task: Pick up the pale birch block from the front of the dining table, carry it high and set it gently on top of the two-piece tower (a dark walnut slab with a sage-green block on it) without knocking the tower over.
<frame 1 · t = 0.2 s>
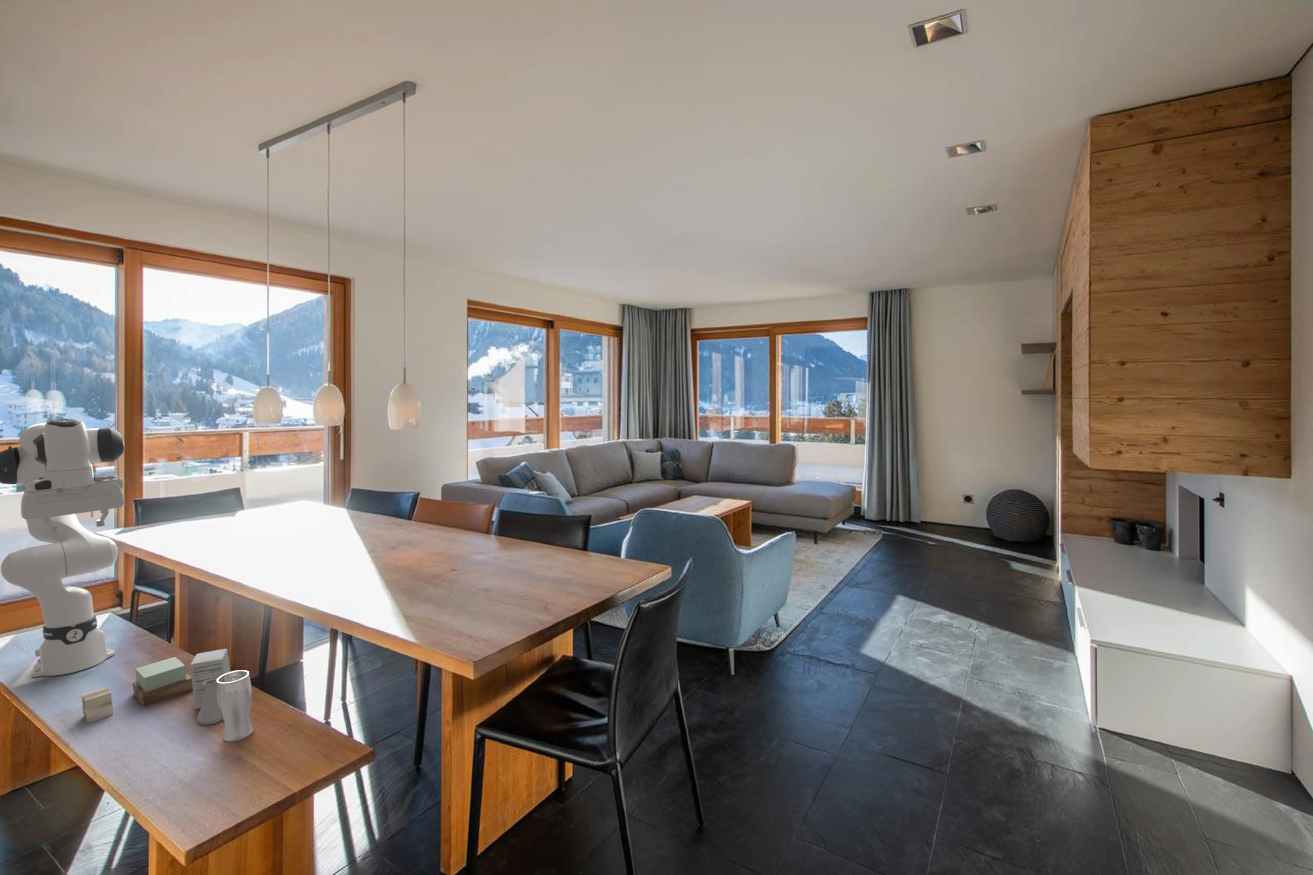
hand: (77, 529, 166), 47 cm above the bench, fingers open, 8 cm apart
beer glass: (238, 735, 150), on the bench
supplement box: (213, 700, 167), on the bench
tower top block: (161, 680, 172), point 3 cm above the bench, touching tower base slab
flask: (214, 718, 158), on the bench
birch block: (98, 715, 161), on the bench
tower base slab: (164, 693, 172), on the bench, touching tower top block
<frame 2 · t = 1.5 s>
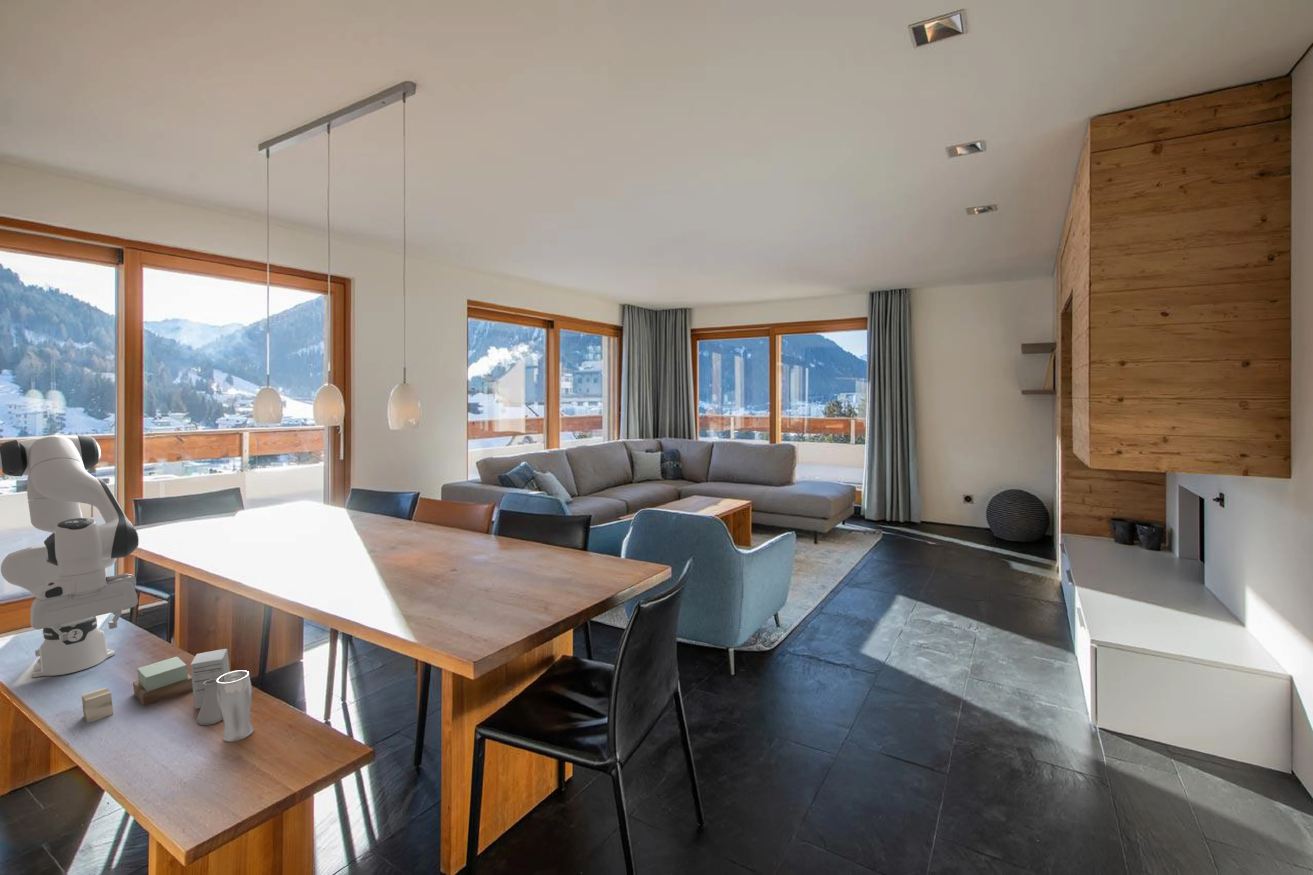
hand: (89, 634, 158), 22 cm above the bench, fingers open, 8 cm apart
nothing on the bench moved.
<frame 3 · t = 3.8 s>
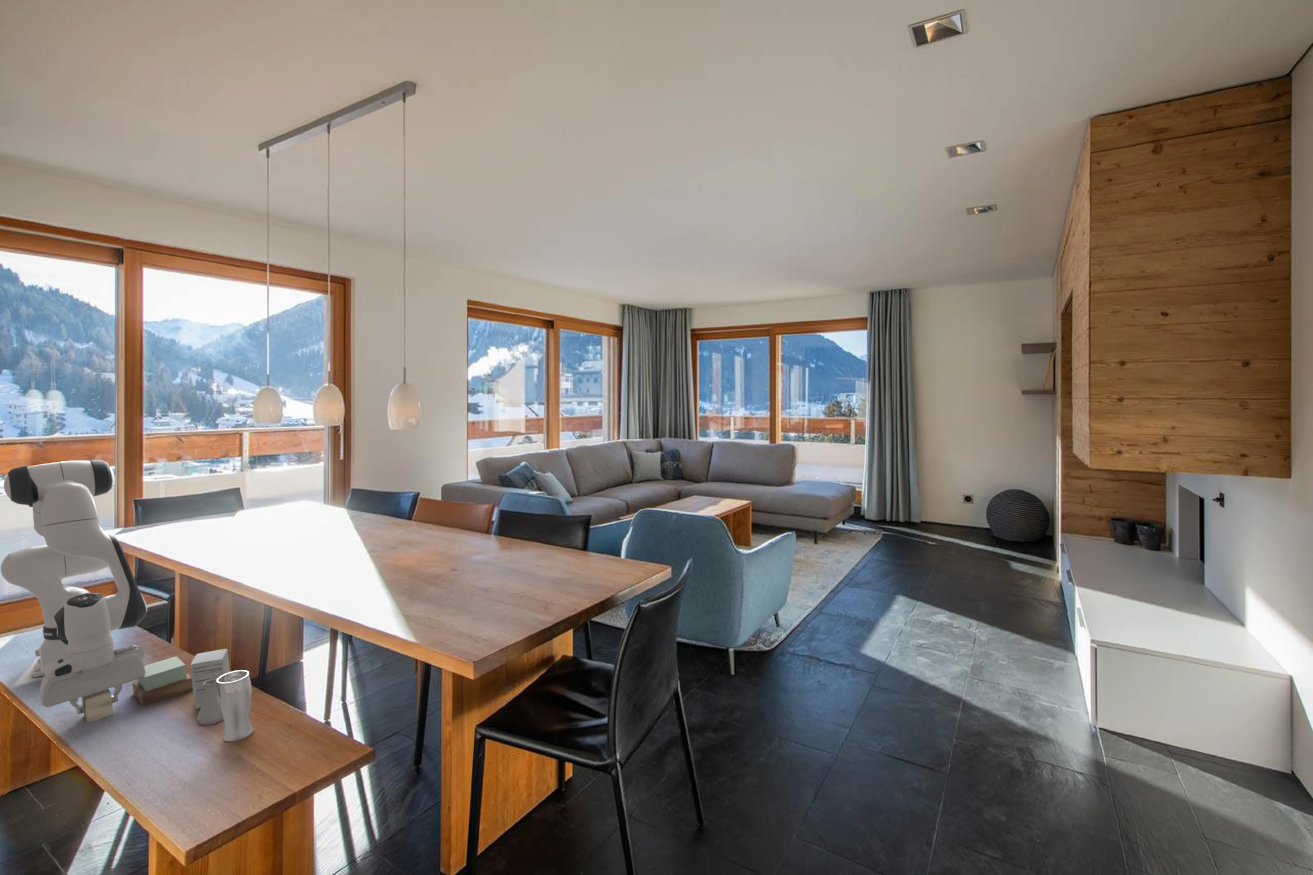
hand: (97, 707, 160), 2 cm above the bench, fingers closed on birch block, 5 cm apart
birch block: (98, 715, 161), on the bench, touching gripper
everything else where it was.
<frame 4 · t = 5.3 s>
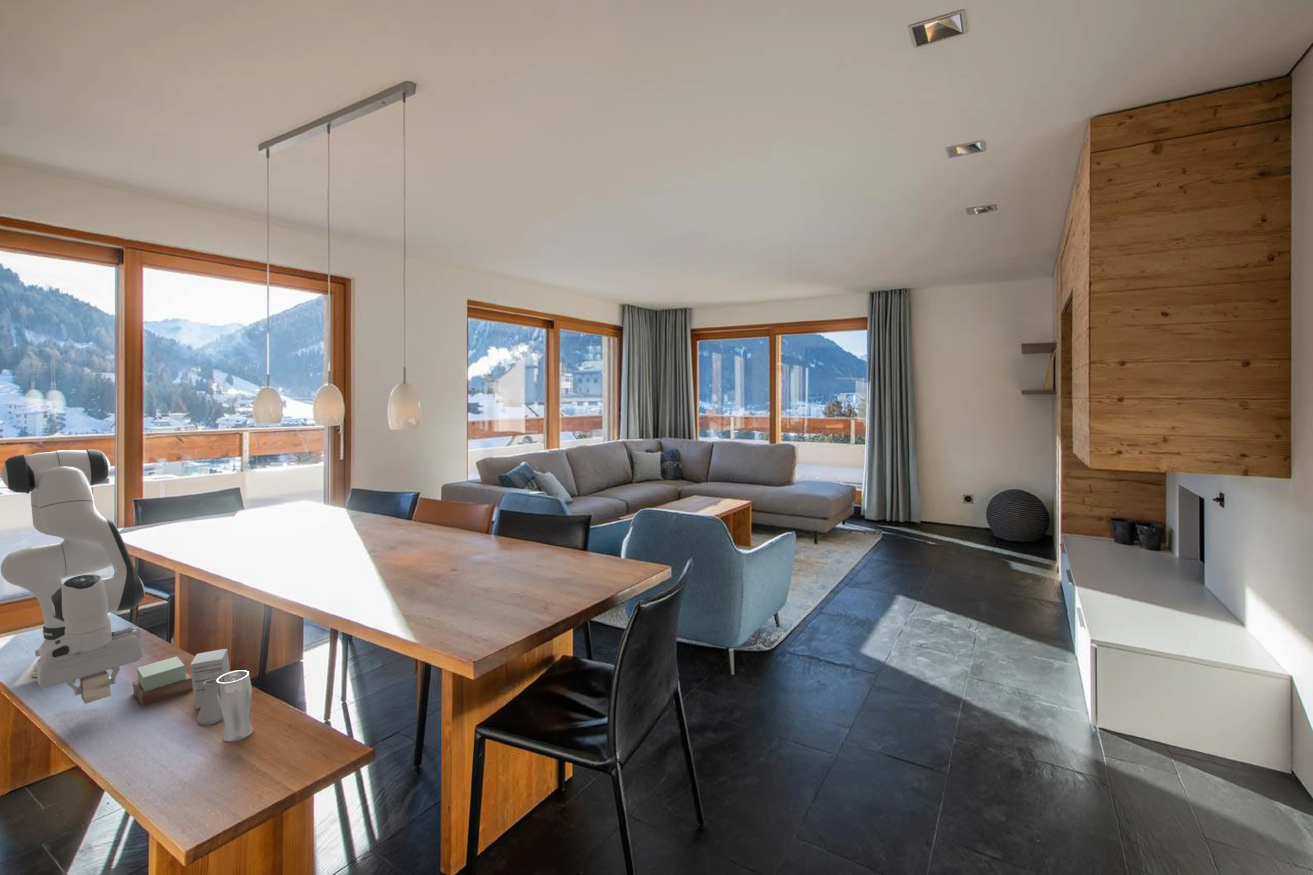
hand: (95, 688, 160), 7 cm above the bench, fingers closed on birch block, 5 cm apart
birch block: (96, 696, 161), point 5 cm above the bench, touching gripper
everything else where it was.
when the fingers open (12 cm above the bench, at t = 10.2 s): birch block drops 2 cm, resting on tower top block.
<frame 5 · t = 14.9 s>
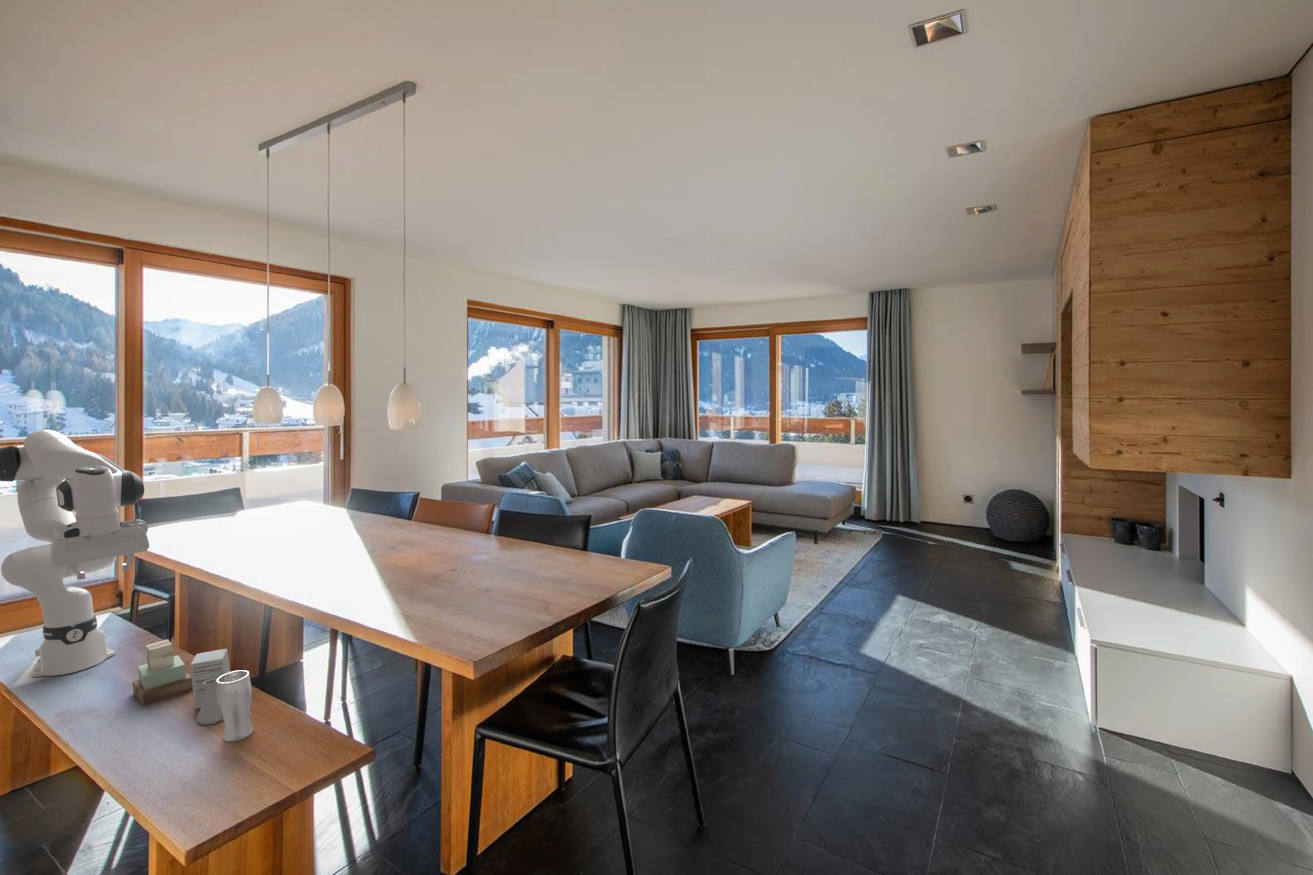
hand: (104, 574, 169), 34 cm above the bench, fingers open, 8 cm apart
tower top block: (162, 678, 173), point 3 cm above the bench, touching birch block, tower base slab
birch block: (161, 665, 172), point 7 cm above the bench, touching tower top block
everything else where it was.
at the end: birch block 0.2 cm off-centre on the tower top block, point 4.0 cm above the tower top block's base; tower top block moved 1.0 cm from its start; the gripper is holding nothing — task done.
